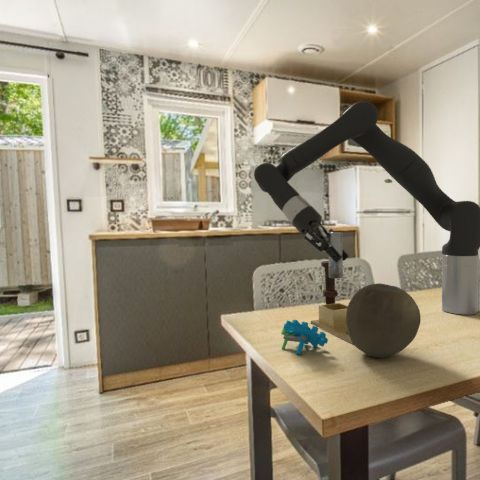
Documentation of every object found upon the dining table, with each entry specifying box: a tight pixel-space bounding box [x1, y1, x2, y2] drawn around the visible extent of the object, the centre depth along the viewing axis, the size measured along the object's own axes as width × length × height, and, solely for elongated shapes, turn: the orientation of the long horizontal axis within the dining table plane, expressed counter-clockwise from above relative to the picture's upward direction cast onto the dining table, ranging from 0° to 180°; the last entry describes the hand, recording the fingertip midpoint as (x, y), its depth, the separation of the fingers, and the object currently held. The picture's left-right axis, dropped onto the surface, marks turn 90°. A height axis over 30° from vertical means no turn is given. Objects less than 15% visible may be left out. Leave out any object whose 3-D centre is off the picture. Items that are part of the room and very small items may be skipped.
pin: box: [328, 231, 344, 279], centre depth 93 cm, size 4×4×12 cm
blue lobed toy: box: [280, 319, 329, 356], centre depth 77 cm, size 11×6×10 cm
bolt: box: [320, 260, 339, 305], centre depth 115 cm, size 6×5×15 cm
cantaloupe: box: [346, 282, 421, 359], centre depth 73 cm, size 14×14×15 cm
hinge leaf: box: [310, 302, 354, 345], centre depth 91 cm, size 12×18×5 cm, turn 20°
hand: (342, 259), depth 92 cm, fingers closed on pin, 3 cm apart
